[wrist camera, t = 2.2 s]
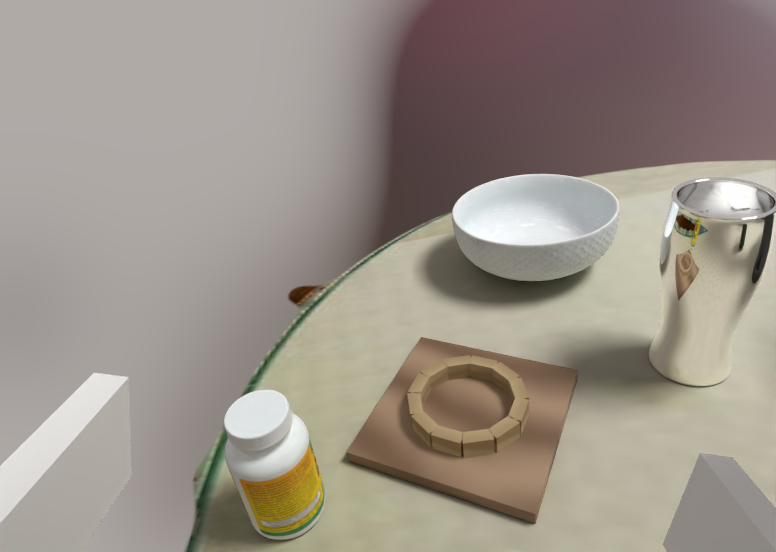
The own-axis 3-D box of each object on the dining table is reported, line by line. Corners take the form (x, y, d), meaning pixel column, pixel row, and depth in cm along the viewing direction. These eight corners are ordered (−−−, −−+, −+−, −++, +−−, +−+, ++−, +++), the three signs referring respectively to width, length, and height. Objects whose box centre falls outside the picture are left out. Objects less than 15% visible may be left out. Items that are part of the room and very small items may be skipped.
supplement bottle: (236, 513, 39) (194, 418, 34) (295, 463, 43) (264, 369, 37) (283, 559, 36) (244, 462, 31) (343, 501, 39) (316, 404, 34)
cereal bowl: (553, 213, 71) (555, 160, 67) (649, 274, 57) (658, 212, 53) (431, 250, 67) (426, 196, 63) (503, 325, 53) (502, 263, 49)
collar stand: (422, 345, 52) (419, 324, 51) (577, 379, 46) (578, 356, 45) (348, 460, 42) (343, 438, 41) (535, 523, 36) (535, 499, 35)
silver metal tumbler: (624, 352, 48) (646, 193, 40) (684, 324, 50) (716, 168, 42) (693, 403, 43) (734, 231, 34) (757, 369, 45) (810, 199, 37)
